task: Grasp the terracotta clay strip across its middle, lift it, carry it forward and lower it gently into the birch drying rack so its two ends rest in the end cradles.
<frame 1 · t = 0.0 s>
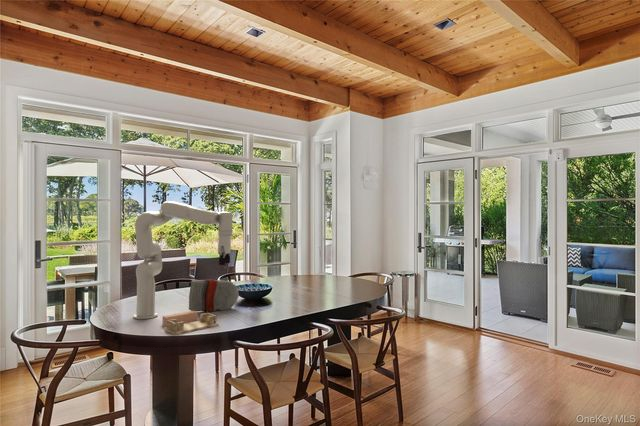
hand: (224, 263, 222), 31 cm above the table, tool pointing down, fingers open, 9 cm apart
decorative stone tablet: (214, 311, 241), on the table
clay strip: (180, 323, 213), on the table
drying rack: (192, 327, 204), on the table
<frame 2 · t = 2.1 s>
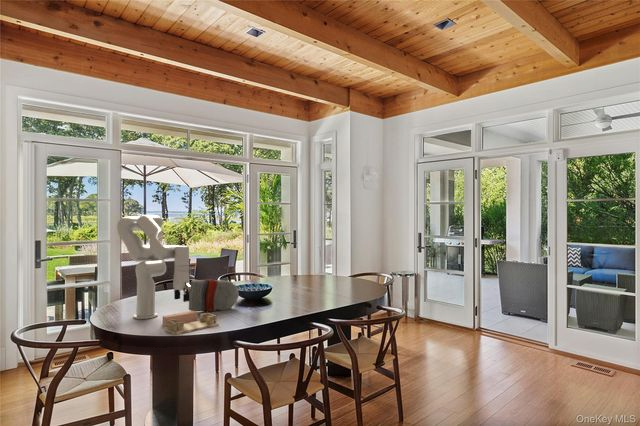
hand: (181, 300, 213), 12 cm above the table, tool pointing down, fingers open, 9 cm apart
nothing on the table moved.
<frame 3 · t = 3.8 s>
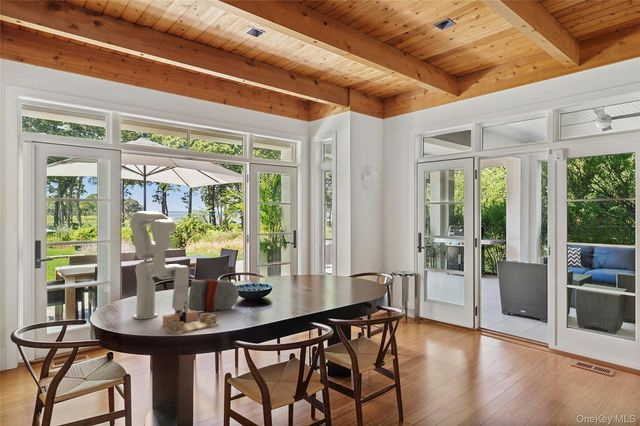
hand: (180, 321, 213), 0 cm above the table, tool pointing down, fingers closed on clay strip, 4 cm apart
clay strip: (180, 322, 213), on the table, touching gripper
everything else where it was.
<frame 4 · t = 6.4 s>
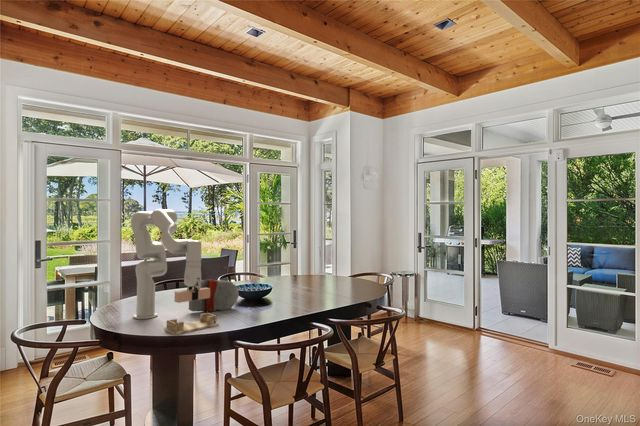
hand: (192, 298, 204), 15 cm above the table, tool pointing down, fingers closed on clay strip, 4 cm apart
clay strip: (192, 299, 204), point 15 cm above the table, touching gripper
everything else where it was.
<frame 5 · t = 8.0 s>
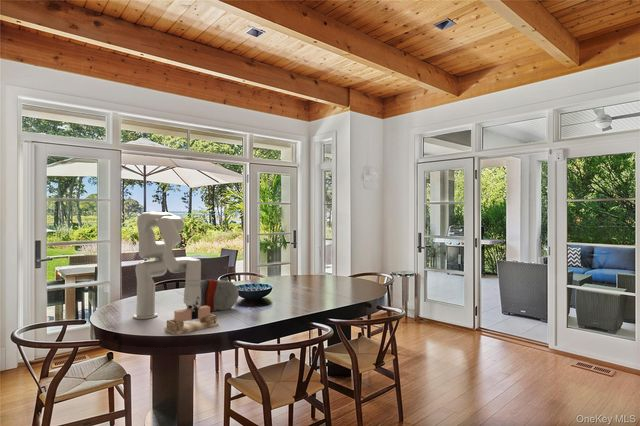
hand: (192, 317, 204), 5 cm above the table, tool pointing down, fingers closed on clay strip, 4 cm apart
clay strip: (192, 318, 204), point 5 cm above the table, touching gripper
everything else where it was.
when the fingers open (3 cm above the table, at t = 9.3 s): clay strip drops 1 cm, resting on drying rack.
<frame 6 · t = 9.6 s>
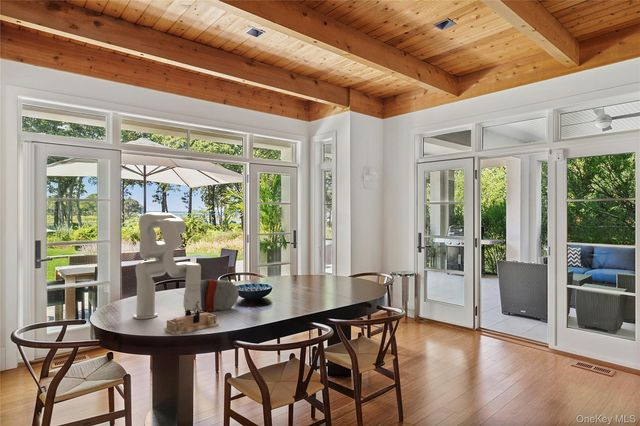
hand: (192, 321, 204), 3 cm above the table, tool pointing down, fingers open, 7 cm apart
clay strip: (191, 325, 204), point 1 cm above the table, touching drying rack
everything else where it was.
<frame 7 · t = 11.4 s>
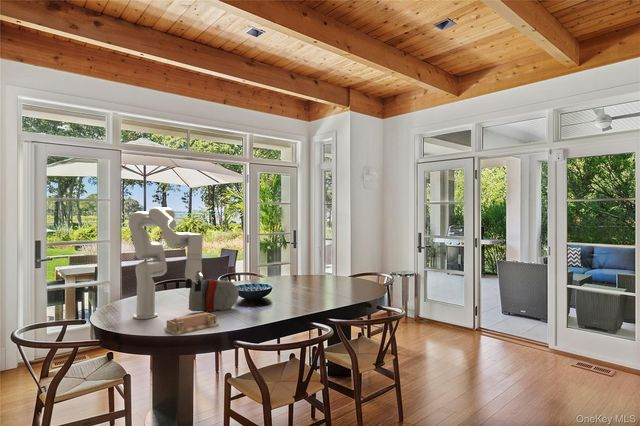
hand: (193, 289, 206), 19 cm above the table, tool pointing down, fingers open, 9 cm apart
nothing on the table moved.
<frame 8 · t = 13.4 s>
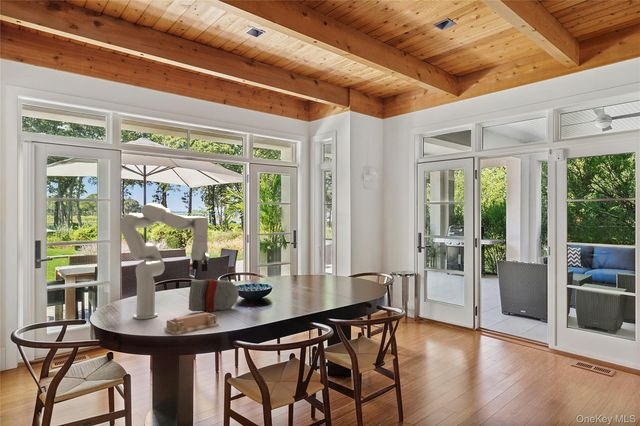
hand: (199, 270, 215), 28 cm above the table, tool pointing down, fingers open, 9 cm apart
nothing on the table moved.
at the end: clay strip 0.2 cm off-centre on the drying rack, point 1.0 cm above the drying rack's base; clay strip tilted 0°; the gripper is holding nothing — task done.
